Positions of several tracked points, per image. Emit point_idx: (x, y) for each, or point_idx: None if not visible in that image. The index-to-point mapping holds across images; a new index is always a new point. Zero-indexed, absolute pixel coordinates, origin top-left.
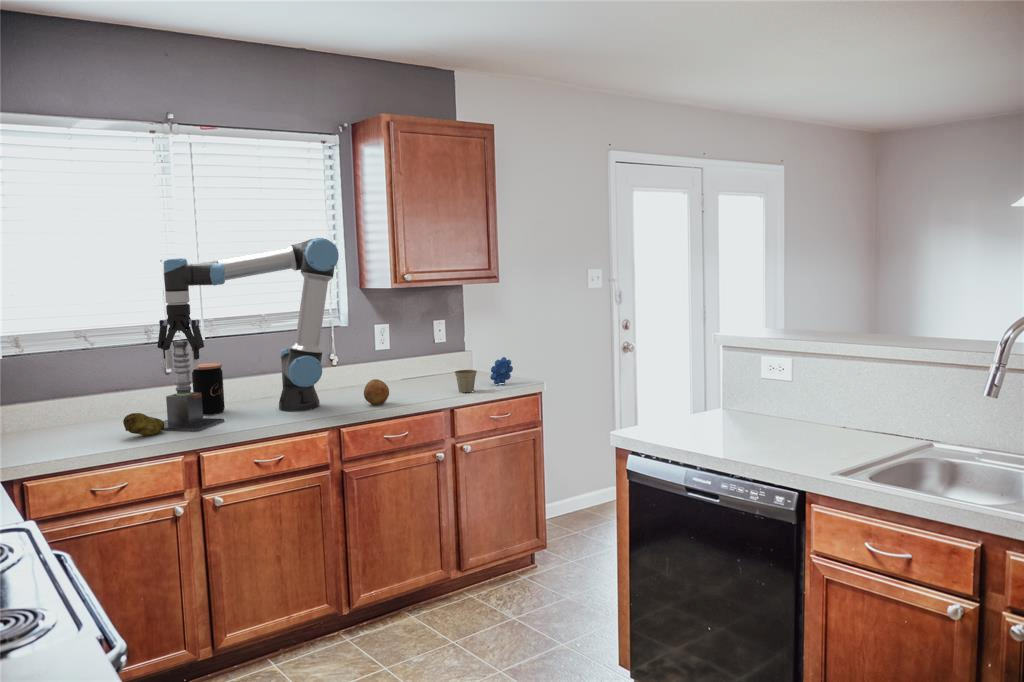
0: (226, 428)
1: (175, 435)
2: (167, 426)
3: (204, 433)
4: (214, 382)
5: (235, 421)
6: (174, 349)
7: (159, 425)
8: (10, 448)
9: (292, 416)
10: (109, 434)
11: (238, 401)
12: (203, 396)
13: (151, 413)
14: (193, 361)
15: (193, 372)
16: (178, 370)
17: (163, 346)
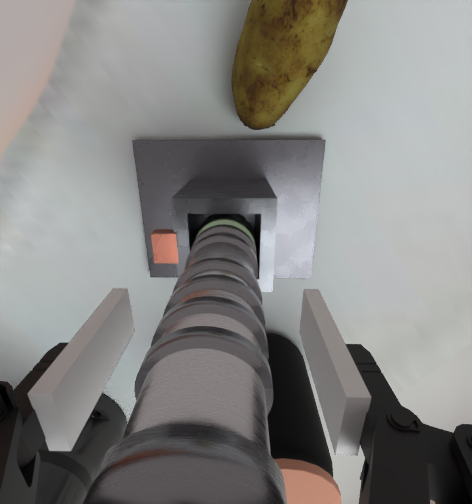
0: (83, 195)
1: (170, 75)
2: (254, 157)
3: (97, 120)
4: None
5: (124, 278)
6: (235, 394)
7: (233, 78)
8: None
9: (23, 343)
10: (415, 51)
11: None
12: None
13: (421, 335)
14: (87, 324)
15: (313, 451)
16: (214, 272)
17: (413, 445)
